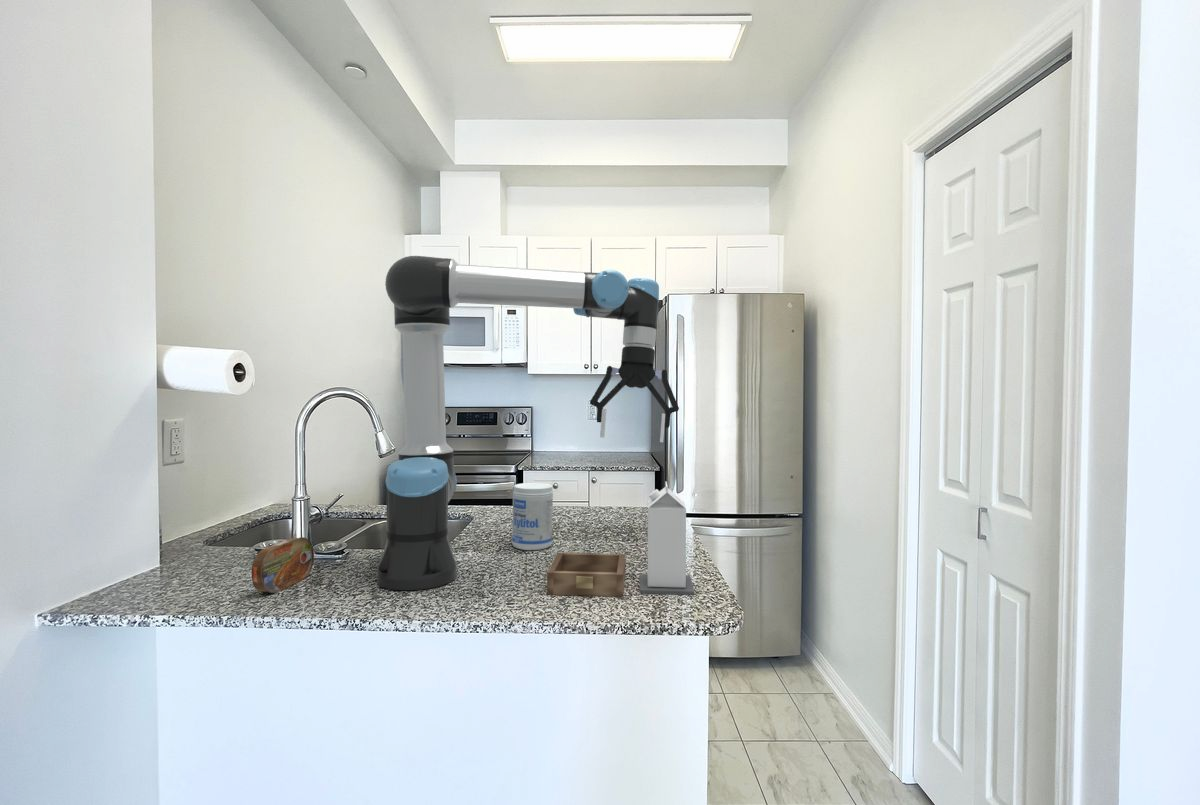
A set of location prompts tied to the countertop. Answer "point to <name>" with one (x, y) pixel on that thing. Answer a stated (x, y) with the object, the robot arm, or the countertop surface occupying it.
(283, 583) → the tin
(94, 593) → the countertop surface
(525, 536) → the supplement tub
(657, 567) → the milk carton
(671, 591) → the rubber mat
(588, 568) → the wooden square frame
